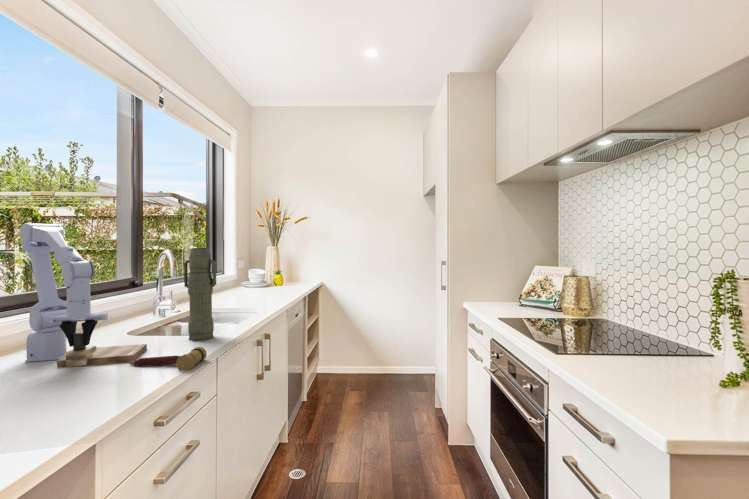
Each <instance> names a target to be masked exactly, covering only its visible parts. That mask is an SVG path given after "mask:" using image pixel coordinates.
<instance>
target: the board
mask: <svg viewBox="0 0 749 499" xmlns="http://www.w3.org/2000/svg"><path fill="white" fill-rule="evenodd" d="M147 350H148V345H147V343H143V344H142V343H141V344H129V345H113V346H102V347H101V346H99V347H97V346H96V349H95V350H94V351H93V355H91V356H90V357H88V358H87V365H86V366H93V365H104V364H105V365H106V364H119V363H130V362H132V361H135V360H138V359H139V357H140V356H141V355H143V354H144V353H145V352H146V351H147ZM81 366H84V365H81ZM81 366H80V367H81ZM57 367H58V368H68V367H71V368H72V366H68V367H66V356H65V357H63V358H61V359H57V360H56V368H57Z"/></svg>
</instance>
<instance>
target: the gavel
mask: <svg viewBox="0 0 749 499" xmlns="http://www.w3.org/2000/svg"><path fill="white" fill-rule="evenodd" d="M207 356H208V353H207V350H206V349H205V348H204V347H202V346H197V347H194V348H193V349H191V350H190V352H188V353H185V354H182V355H167V356H166V355H165V356H151V357H140V358H137V359H136V360H134V361H132V362H129V365H130V366H136V367H155V366H156V367H157V366H168V365H169V366H171V365H176V368H177V369H178V370H179V371H190V370H191V369H193V368H194V367H195V365H197V364H198V363H202V362H203V361H204V360H205V359H206V358H207Z"/></svg>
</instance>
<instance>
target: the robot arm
mask: <svg viewBox="0 0 749 499" xmlns="http://www.w3.org/2000/svg"><path fill="white" fill-rule="evenodd" d="M64 235H65V231H64V227H63V226H62V225H61V224H60V223H56V224H55V223H53V224H52V223H33V222H32V223H30V222H25V223H23V224H22V225H21V227H20V232H19V238H20V242H21V247H22V250H23V251H25V252H26V253H28V254H29V258H30V262H31V269H32V273H33V278H34V284H35V288H36V294H37V298H38V302H37V303H35V304H34V305H32V307H31V308H30V309H29V318H28V319H29V320H28V322H29V326H30V329H31V330H32V331H31V332H29V333H28V335H27V337H26V342H25V344H26V346H25V348H26V349H25V350H26V360H24V361H25V362H26V363H28V362H41V361H42V362H43V361H55V360H56V361H58V360H59V359H61V358H63V357H65V356H66V352H68V351H67V350H68V349H67V346H69V347H70V348H71V347H73V334H74V333H77V324H78V322H81V323H80V324H81V325H80V326H81V328H82V332H83V344H84V346H86V347H87V346H88V345H90V342H91V341H90V340H91V337H92V334H93V332H94V331H95V328H96V326H97V324H98V322H99V321H103V322H104V321H107V320H108V319H109V317H108V316H109V314H108V313H107V312H105V313H97V312H94V313H92V311H91V309H92V308H91V307H92V306H91V279H93V277H94V275H95V266H94V264H93V261H91V260H89V259H88V260H87V259H84V258H83V256H81V255H80V253H79V252H78V251H77V249H75V248H74V247H73V246H70V245H68V244H67V242H66V240H65V239H64V237H65V236H64ZM52 252H54V253H53V258H54V259H55V261H56V262H57V263H58V265H59V266H60V267H61V274H62V275H61V276H62V278H63V281H64V282H63V284H64V287H66V301H65V300H63V299H61V298H59V295H58V289H57V284H56V280H55V276H54V269H53V266H52V260H51V256H50V254H51V253H52ZM67 342H68V345H67Z"/></svg>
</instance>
